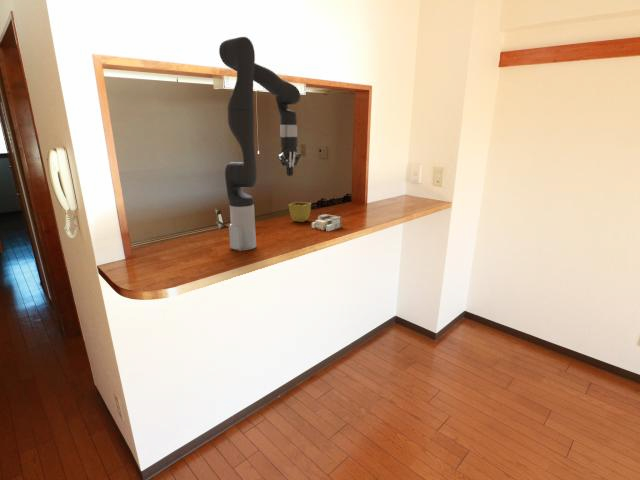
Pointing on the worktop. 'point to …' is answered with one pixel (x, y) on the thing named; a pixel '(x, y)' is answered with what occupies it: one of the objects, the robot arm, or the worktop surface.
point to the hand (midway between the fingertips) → (289, 175)
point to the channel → (335, 222)
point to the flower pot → (300, 211)
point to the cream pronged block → (322, 223)
